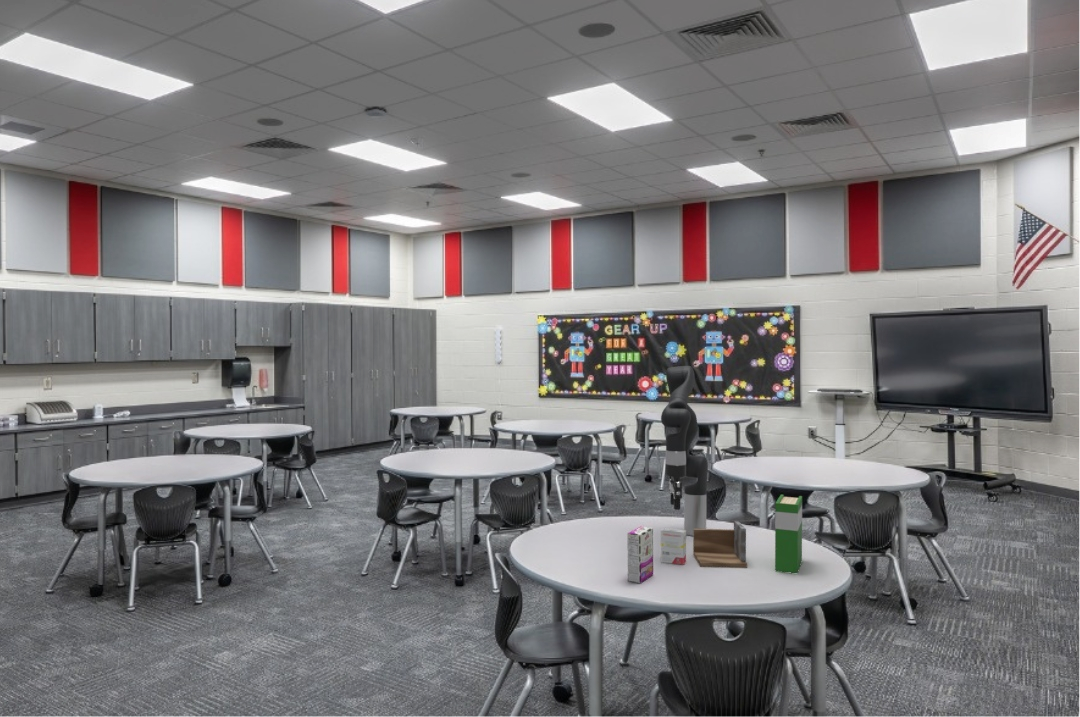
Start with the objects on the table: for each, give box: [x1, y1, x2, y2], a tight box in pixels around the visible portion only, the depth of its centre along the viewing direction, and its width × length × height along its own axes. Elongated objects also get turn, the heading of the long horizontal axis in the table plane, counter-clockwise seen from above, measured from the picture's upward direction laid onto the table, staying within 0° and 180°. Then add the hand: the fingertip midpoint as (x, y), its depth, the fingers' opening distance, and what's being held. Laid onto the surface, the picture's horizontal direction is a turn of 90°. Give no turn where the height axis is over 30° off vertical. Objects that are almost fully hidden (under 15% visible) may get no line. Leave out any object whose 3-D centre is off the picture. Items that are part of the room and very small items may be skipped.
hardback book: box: [774, 494, 803, 574], centre depth 249 cm, size 18×7×24 cm, turn 155°
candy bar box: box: [627, 525, 654, 584], centre depth 233 cm, size 11×5×16 cm, turn 148°
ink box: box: [660, 527, 687, 566], centre depth 253 cm, size 9×5×12 cm, turn 65°
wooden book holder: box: [692, 520, 748, 569], centre depth 254 cm, size 15×16×14 cm
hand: (675, 507), depth 252 cm, fingers open, 8 cm apart
